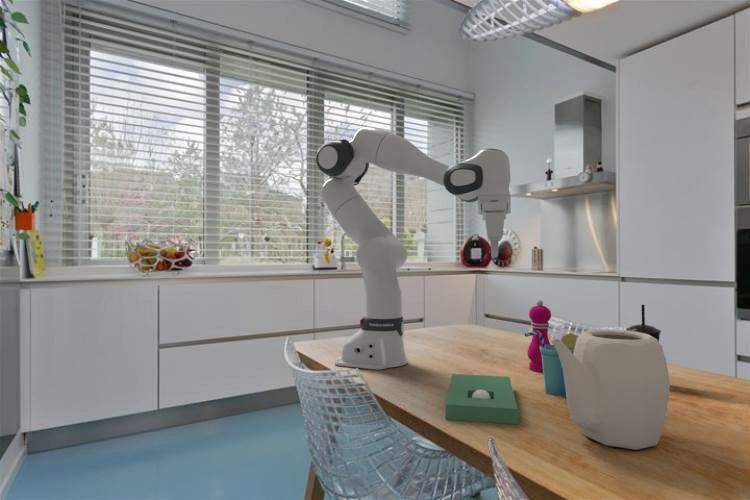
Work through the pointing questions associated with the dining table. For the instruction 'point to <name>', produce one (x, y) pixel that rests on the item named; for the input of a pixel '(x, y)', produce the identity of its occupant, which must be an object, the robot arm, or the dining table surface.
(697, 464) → the dining table surface
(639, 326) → the drinking cup
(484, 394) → the ball
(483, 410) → the putting mat
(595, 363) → the watering can
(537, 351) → the pepper mill
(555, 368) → the cup
